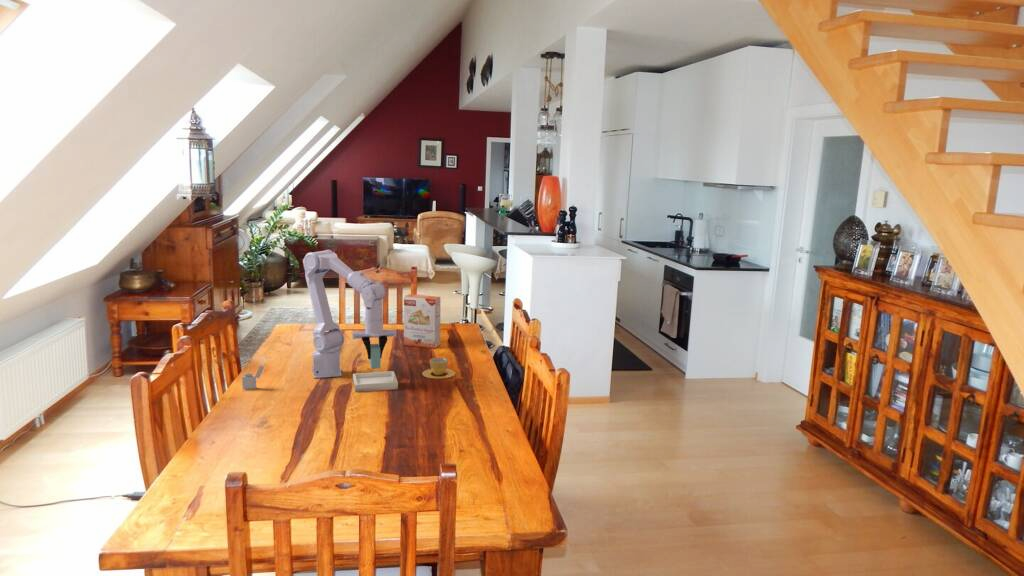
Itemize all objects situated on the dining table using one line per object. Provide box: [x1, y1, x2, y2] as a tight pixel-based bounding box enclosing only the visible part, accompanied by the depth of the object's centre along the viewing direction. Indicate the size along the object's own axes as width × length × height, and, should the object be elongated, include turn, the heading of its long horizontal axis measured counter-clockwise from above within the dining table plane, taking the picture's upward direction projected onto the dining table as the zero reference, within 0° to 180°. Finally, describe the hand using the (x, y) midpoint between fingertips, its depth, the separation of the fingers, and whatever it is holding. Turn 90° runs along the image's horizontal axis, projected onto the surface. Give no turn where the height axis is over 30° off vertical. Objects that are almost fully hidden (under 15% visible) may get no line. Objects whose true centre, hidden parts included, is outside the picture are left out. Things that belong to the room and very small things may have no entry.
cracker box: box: [403, 293, 441, 350], centre depth 285 cm, size 14×6×21 cm, turn 73°
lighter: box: [241, 364, 266, 390], centre depth 231 cm, size 7×2×8 cm, turn 99°
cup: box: [421, 357, 456, 380], centre depth 251 cm, size 12×12×5 cm
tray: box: [352, 370, 399, 393], centre depth 238 cm, size 14×12×2 cm
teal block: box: [369, 343, 382, 370], centre depth 236 cm, size 6×3×7 cm, turn 17°
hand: (374, 358), depth 237 cm, fingers closed on teal block, 3 cm apart
